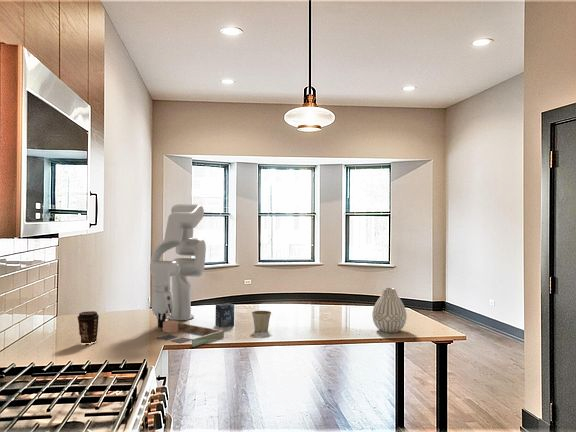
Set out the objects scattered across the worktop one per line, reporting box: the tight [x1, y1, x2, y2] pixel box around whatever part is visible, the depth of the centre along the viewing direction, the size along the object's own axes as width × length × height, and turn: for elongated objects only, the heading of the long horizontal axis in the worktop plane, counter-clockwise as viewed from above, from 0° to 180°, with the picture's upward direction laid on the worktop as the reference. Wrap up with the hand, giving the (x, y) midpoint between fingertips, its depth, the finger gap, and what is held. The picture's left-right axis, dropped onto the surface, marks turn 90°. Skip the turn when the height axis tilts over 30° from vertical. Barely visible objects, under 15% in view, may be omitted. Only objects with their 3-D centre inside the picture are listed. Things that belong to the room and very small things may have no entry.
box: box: [214, 302, 235, 328], centre depth 248 cm, size 8×6×11 cm
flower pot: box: [251, 310, 272, 333], centre depth 238 cm, size 9×9×9 cm
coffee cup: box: [77, 310, 100, 343], centre depth 214 cm, size 9×8×13 cm
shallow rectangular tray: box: [178, 322, 225, 348], centre depth 226 cm, size 33×19×3 cm, turn 56°
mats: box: [157, 334, 193, 344], centre depth 222 cm, size 15×7×1 cm, turn 56°
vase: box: [371, 287, 408, 334], centre depth 238 cm, size 16×16×20 cm
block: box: [162, 319, 179, 334], centre depth 237 cm, size 5×5×4 cm
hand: (161, 327), depth 238 cm, fingers closed
